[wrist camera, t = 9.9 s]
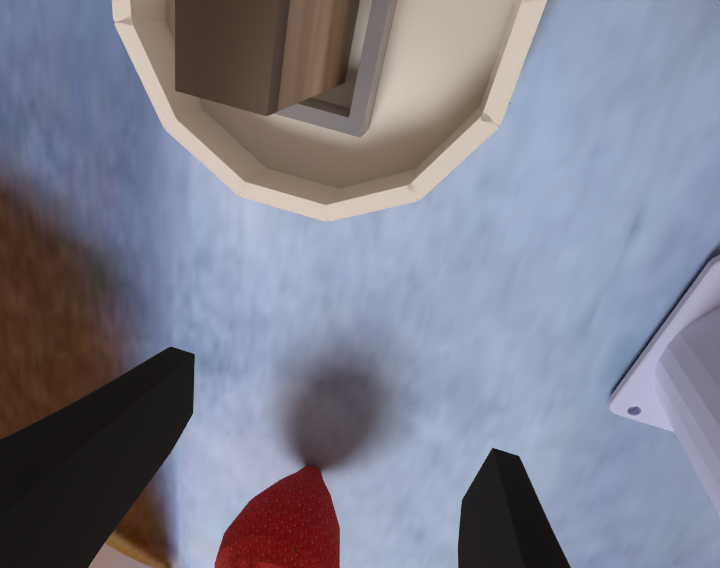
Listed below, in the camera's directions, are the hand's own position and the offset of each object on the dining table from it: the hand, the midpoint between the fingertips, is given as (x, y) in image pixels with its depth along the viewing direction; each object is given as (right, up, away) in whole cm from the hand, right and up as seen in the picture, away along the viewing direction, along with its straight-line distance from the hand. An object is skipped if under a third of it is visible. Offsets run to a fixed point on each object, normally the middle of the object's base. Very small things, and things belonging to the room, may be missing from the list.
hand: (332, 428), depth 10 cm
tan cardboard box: (0, +12, +4) cm, 13 cm away
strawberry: (-2, -7, +16) cm, 18 cm away
